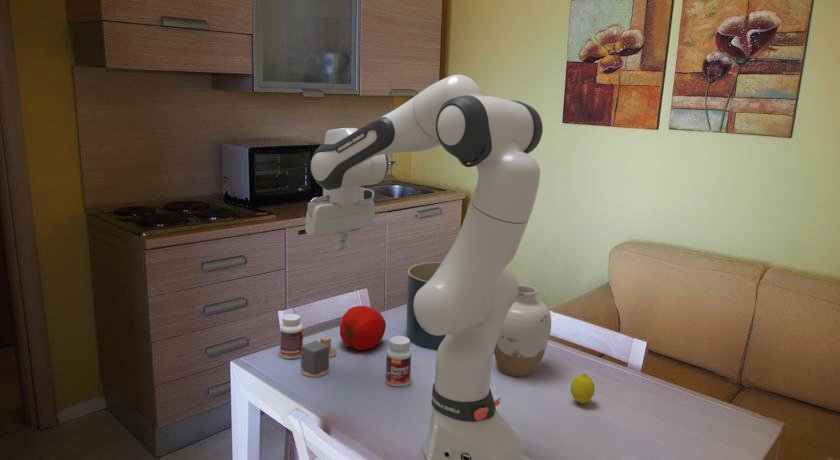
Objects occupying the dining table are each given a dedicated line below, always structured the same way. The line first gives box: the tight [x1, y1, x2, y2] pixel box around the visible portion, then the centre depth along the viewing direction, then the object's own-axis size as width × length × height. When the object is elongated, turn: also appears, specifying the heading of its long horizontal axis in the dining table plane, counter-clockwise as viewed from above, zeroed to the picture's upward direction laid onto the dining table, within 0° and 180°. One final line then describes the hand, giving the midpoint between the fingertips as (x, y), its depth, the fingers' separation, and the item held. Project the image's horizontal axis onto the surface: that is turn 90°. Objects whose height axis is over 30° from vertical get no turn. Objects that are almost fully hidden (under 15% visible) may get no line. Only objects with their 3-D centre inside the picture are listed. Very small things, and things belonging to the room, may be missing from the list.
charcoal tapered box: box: [300, 340, 330, 374], centre depth 156 cm, size 5×5×6 cm
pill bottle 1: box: [279, 313, 304, 360], centre depth 165 cm, size 6×6×11 cm
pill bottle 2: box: [385, 335, 412, 387], centre depth 153 cm, size 6×6×11 cm
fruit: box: [570, 372, 595, 405], centre depth 146 cm, size 6×6×8 cm
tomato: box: [338, 305, 387, 351], centre depth 173 cm, size 13×13×13 cm
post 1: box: [300, 368, 330, 379], centre depth 156 cm, size 7×7×6 cm
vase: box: [493, 284, 552, 378], centre depth 161 cm, size 16×16×23 cm
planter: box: [405, 261, 446, 351], centre depth 181 cm, size 22×22×20 cm
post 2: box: [319, 336, 337, 359], centre depth 167 cm, size 6×6×4 cm
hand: (340, 248), depth 151 cm, fingers closed
